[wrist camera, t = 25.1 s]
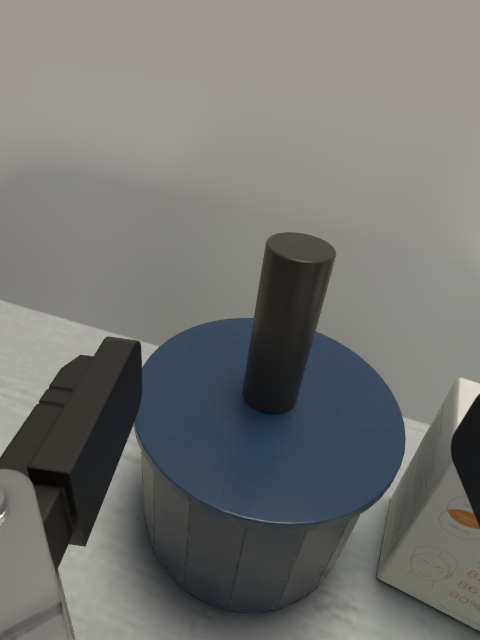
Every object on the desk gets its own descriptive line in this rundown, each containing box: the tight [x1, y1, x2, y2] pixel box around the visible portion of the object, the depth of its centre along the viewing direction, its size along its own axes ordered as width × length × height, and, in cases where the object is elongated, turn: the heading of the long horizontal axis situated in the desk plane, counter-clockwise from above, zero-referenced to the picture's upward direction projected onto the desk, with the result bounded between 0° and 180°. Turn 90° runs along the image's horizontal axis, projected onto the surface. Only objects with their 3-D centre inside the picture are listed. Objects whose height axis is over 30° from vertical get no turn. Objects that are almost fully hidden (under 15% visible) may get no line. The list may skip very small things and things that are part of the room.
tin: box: [141, 450, 360, 613], centre depth 22 cm, size 12×12×8 cm
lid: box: [133, 232, 405, 533], centre depth 17 cm, size 13×13×9 cm
